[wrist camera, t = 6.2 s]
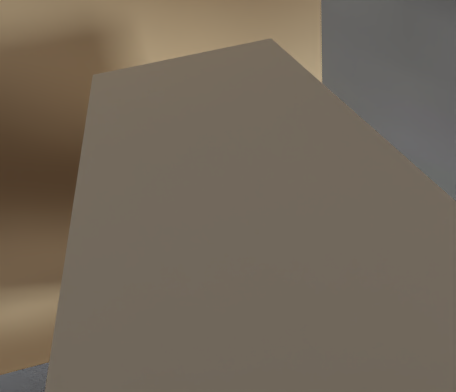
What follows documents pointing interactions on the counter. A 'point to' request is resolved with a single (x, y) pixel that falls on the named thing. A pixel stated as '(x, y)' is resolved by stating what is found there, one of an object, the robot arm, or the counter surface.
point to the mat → (76, 118)
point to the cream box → (249, 240)
